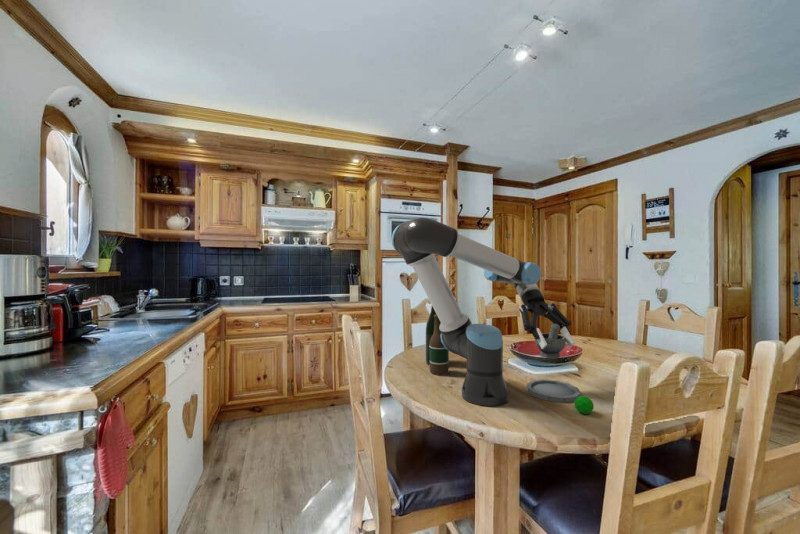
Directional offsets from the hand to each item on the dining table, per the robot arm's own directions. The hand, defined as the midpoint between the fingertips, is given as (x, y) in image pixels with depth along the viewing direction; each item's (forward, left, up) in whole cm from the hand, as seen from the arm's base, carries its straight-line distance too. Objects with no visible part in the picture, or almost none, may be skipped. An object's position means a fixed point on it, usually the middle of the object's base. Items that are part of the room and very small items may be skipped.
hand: (558, 345), depth 112 cm
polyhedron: (-7, -10, -17) cm, 21 cm away
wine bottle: (-1, +53, -17) cm, 55 cm away
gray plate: (+2, +3, -17) cm, 17 cm away
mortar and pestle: (+2, +3, -5) cm, 6 cm away
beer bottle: (-10, +44, -17) cm, 48 cm away
